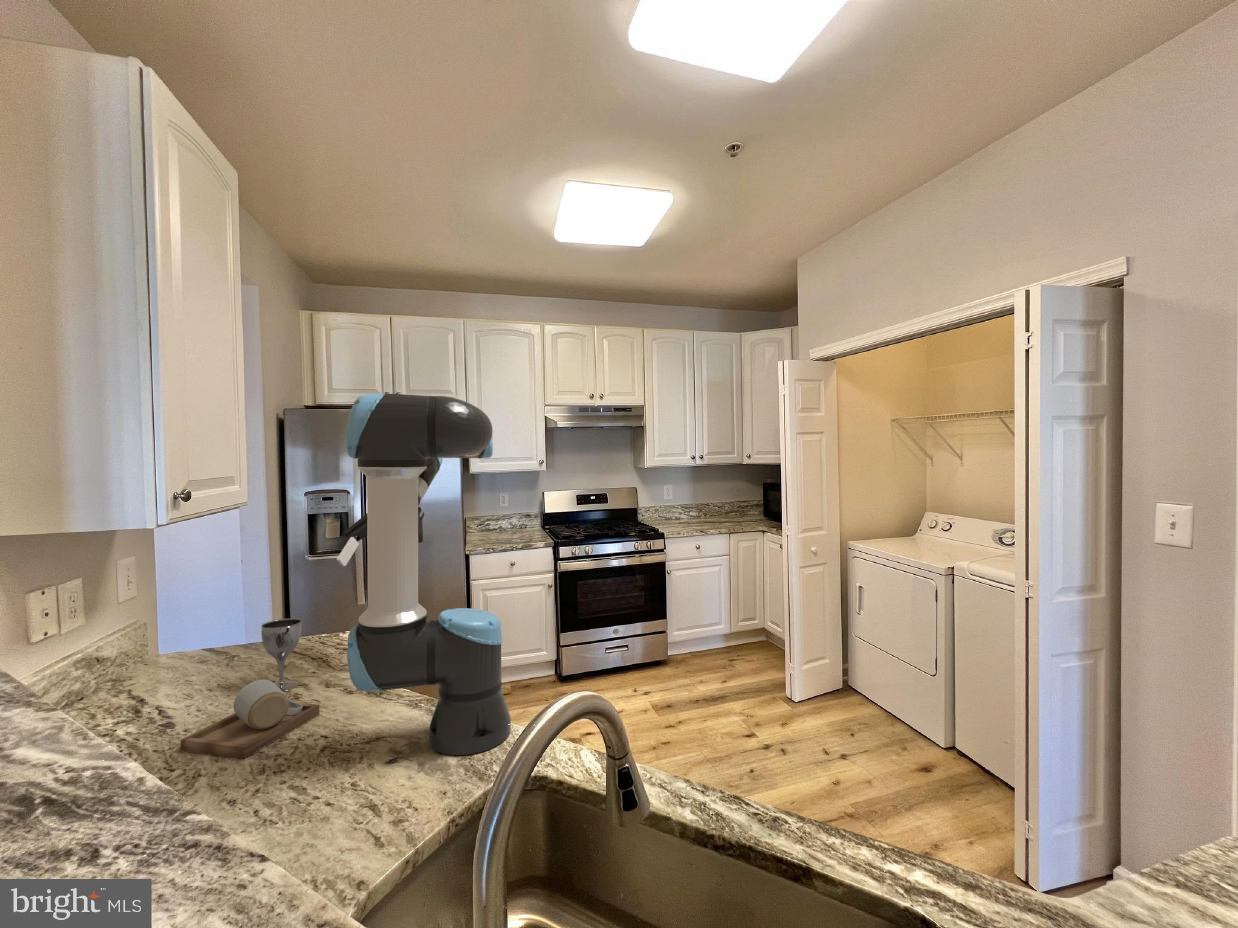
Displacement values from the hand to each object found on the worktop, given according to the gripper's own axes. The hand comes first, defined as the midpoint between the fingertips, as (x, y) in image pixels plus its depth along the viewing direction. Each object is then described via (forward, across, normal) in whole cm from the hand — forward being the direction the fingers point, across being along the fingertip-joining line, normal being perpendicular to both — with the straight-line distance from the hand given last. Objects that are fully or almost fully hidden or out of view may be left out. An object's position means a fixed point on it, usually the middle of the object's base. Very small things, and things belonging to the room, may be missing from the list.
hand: (366, 564), depth 116 cm
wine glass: (+21, +23, -21) cm, 38 cm away
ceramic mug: (+32, +9, -9) cm, 34 cm away
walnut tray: (+34, +10, -8) cm, 36 cm away
